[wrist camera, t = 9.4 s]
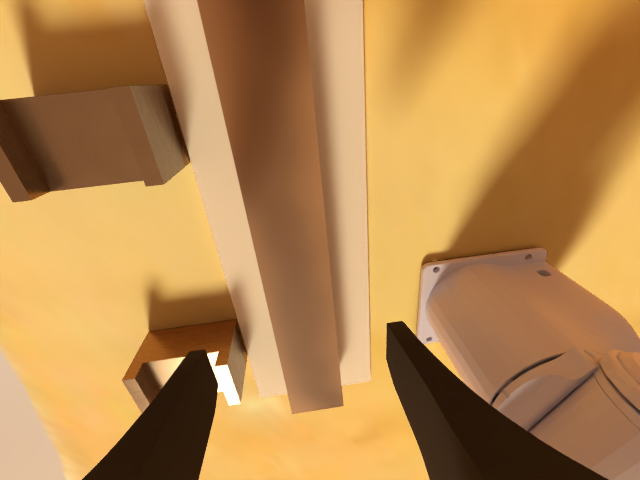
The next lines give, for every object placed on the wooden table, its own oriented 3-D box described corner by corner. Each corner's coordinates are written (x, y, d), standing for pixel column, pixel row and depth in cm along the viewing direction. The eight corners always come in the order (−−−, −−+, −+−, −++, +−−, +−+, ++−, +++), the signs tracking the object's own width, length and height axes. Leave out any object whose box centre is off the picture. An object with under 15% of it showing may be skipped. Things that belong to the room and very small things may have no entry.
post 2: (236, 319, 23) (227, 364, 19) (247, 355, 25) (240, 403, 21) (148, 331, 23) (122, 380, 19) (166, 367, 25) (145, 418, 21)
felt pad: (359, -64, 14) (361, -68, 13) (369, 377, 28) (370, 381, 27) (133, -45, 13) (129, -48, 13) (260, 394, 27) (260, 398, 27)
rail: (298, -5, 14) (301, -26, 11) (337, 371, 26) (343, 406, 23) (212, 4, 14) (193, -16, 11) (291, 378, 26) (292, 414, 23)
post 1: (166, 84, 15) (129, 85, 12) (189, 162, 17) (163, 184, 14) (34, 98, 15) (-48, 103, 11) (72, 176, 17) (12, 202, 13)
